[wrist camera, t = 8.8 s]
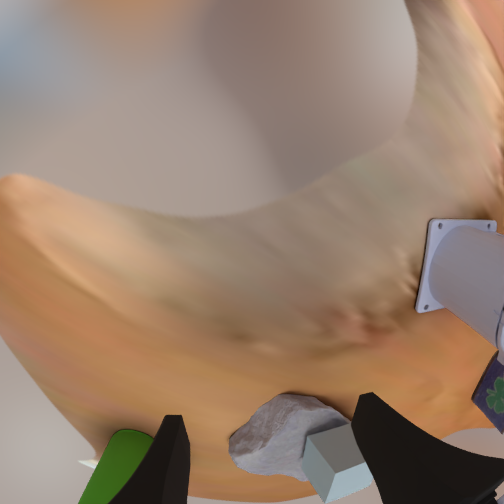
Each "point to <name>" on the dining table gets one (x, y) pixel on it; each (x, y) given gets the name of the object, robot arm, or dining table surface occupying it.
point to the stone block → (281, 435)
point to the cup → (116, 466)
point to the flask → (492, 393)
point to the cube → (335, 464)
